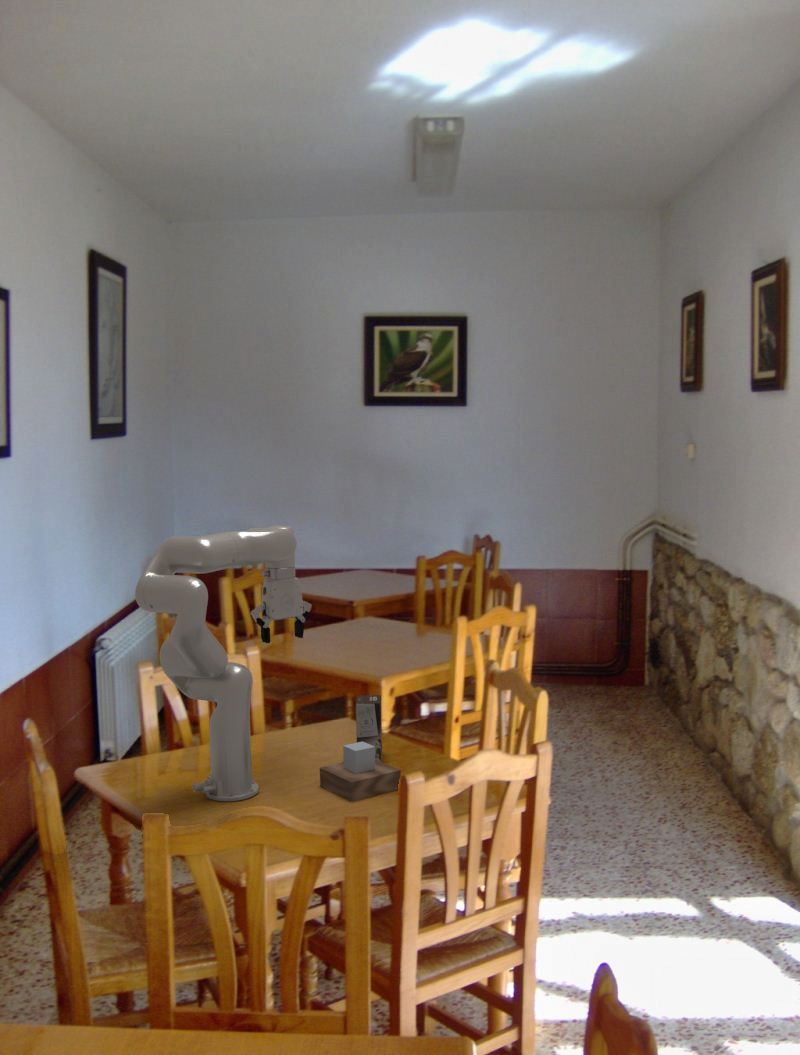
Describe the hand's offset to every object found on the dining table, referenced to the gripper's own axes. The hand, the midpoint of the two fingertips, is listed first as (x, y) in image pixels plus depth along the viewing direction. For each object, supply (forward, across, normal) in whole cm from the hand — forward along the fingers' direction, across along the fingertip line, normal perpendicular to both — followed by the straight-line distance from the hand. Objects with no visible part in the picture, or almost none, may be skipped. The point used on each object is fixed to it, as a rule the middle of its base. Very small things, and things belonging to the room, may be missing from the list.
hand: (282, 639), depth 274 cm
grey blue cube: (+28, +4, -28) cm, 40 cm away
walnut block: (+33, +4, -28) cm, 43 cm away
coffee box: (+32, +18, -12) cm, 39 cm away
